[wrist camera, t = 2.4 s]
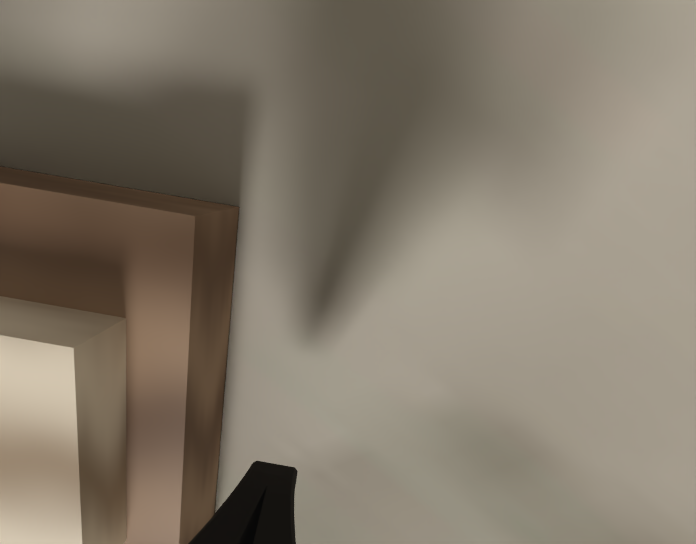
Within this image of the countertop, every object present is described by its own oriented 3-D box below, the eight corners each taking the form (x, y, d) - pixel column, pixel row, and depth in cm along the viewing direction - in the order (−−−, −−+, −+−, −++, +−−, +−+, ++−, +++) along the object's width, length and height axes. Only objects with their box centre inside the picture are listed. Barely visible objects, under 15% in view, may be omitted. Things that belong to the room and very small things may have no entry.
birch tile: (126, 539, 13) (84, 601, 11) (-30, 511, 13) (-98, 567, 11) (125, 318, 11) (73, 348, 9) (-63, 285, 11) (-156, 307, 9)
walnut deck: (213, 530, 17) (175, 614, 14) (16, 494, 18) (-68, 569, 14) (239, 207, 13) (195, 215, 10) (-19, 163, 13) (-148, 157, 10)
